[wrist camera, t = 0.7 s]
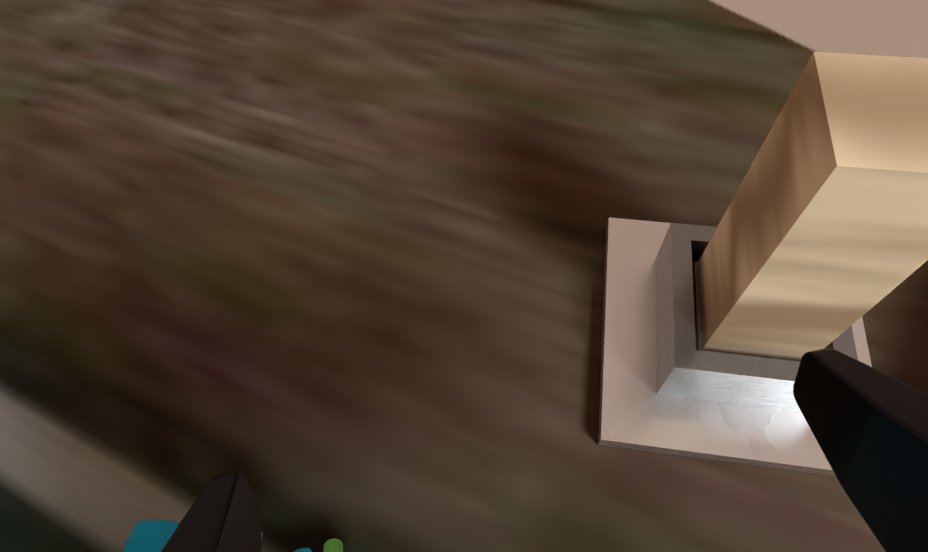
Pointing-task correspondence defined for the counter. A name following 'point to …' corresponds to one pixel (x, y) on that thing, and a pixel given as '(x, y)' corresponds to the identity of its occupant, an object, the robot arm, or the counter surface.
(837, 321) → the strut
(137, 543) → the gear
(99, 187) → the counter surface
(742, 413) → the socket base
